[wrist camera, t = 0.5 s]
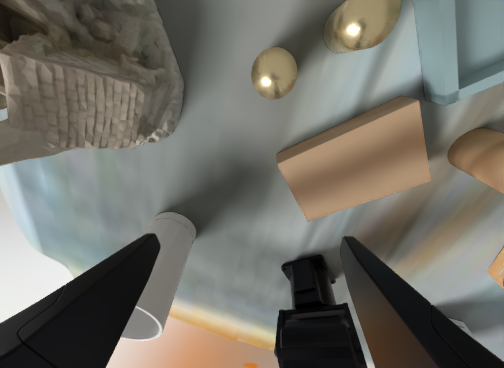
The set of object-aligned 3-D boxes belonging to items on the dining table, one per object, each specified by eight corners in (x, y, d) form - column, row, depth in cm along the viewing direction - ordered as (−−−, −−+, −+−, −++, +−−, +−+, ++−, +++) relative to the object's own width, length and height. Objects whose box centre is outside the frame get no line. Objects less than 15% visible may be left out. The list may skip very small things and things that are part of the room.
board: (411, 166, 21) (430, 181, 18) (304, 205, 25) (307, 221, 22) (398, 95, 18) (419, 100, 15) (276, 152, 22) (276, 164, 19)
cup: (167, 197, 26) (98, 285, 15) (213, 233, 28) (179, 328, 18) (137, 225, 29) (62, 313, 19) (180, 255, 31) (135, 347, 21)
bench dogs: (368, 39, 16) (404, 29, 11) (266, 97, 18) (264, 107, 14) (358, -6, 14) (395, -36, 10) (250, 64, 17) (243, 64, 13)
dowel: (497, 157, 19) (578, 190, 14) (449, 173, 21) (507, 209, 16) (499, 120, 18) (591, 143, 13) (446, 140, 19) (510, 168, 14)
